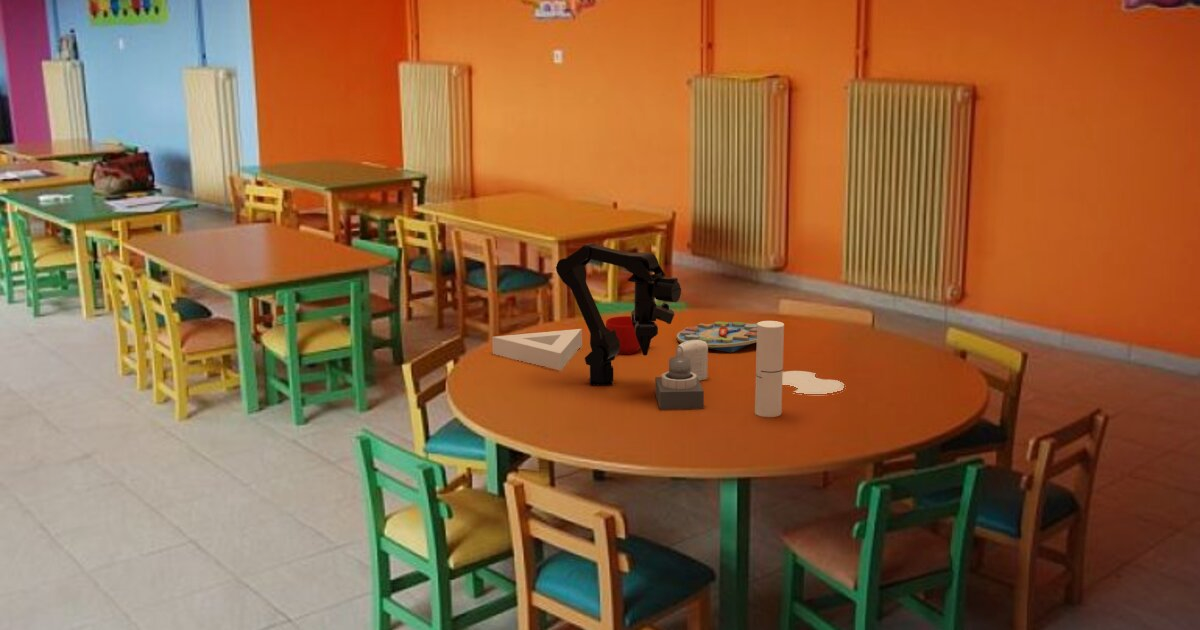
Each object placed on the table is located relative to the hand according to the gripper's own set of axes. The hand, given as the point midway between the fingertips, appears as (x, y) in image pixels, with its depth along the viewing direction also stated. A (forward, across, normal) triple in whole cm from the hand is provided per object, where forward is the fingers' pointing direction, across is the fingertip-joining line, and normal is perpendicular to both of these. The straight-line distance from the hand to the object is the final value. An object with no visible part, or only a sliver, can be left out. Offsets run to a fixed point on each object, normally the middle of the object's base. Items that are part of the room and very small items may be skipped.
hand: (643, 350), depth 346 cm
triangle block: (+13, +33, +27) cm, 44 cm away
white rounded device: (+12, +8, -15) cm, 21 cm away
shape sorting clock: (+12, +51, -31) cm, 61 cm away
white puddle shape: (+12, +3, -48) cm, 50 cm away
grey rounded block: (+7, -10, -9) cm, 16 cm away
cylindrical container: (+12, -23, -32) cm, 41 cm away
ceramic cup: (+12, +42, 0) cm, 44 cm away
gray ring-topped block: (+12, -11, -9) cm, 18 cm away
